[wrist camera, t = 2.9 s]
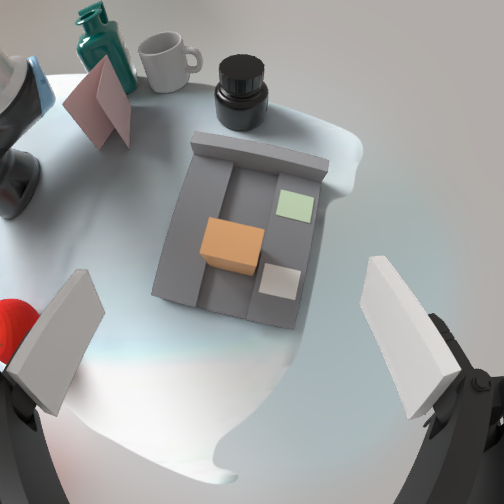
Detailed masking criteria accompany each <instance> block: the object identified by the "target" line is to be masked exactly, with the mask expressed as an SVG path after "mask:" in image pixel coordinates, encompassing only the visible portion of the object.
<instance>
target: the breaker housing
mask: <svg viewBox="0 0 504 504" xmlns="http://www.w3.org/2000/svg"><path fill="white" fill-rule="evenodd" d="M190 143H191V146H192V150H193V153H194V155H193V158H192V161H191V163H190V166H189V169H188V172H187V174H186V177H185V180H184V183H183V186H182V189H181V192H180V195H179V198H178V201H177V204H176V207H175V210H174V213H173V216H172V220H171V223H170V226H169V230H168V233H167V236H166V240H165V243H164V247H163V250H162V254H161V258H160V261H159V265H158V269H157V273H156V277H155V281H154V285H153V289H152V293H151V295H152V296H156V297H159V298H163V299H166V300H170V301H173V302H177V303H180V304H184V305H188V306H192V307H198V308H201V309H205V310H209V311H213V312H217V313H221V314H225V315H230V316H234V317H238V318H242V319H246V320H248V321H253V322H257V323H262V324H267V325H271V326H276V327H281V328H286V329H291V330H294V326H295V322H296V317H297V313H298V308H299V304H300V299H301V294H302V290H303V285H304V280H305V275H306V270H307V264H308V259H309V254H310V248H311V243H312V237H313V231H314V226H315V220H316V213H317V207H318V201H319V194H320V187H321V182H322V180H323V179H324V177H325V175H326V174H327V172H328V166H329V160H327V159H323V158H320V157H316V156H312V155H309V154H305V153H301V152H297V151H293V150H289V149H285V148H281V147H276V146H272V145H267V144H263V143H258V142H253V141H248V140H243V139H238V138H233V137H227V136H221V135H215V134H209V133H202V132H194V134H193V137H192V139H191V142H190ZM209 217H212V218H216V219H221V220H225V221H230V222H234V223H239V224H243V225H247V226H252V227H256V228H260V229H265V230H264V235H263V239H262V244H261V248H260V252H259V257H258V261H257V266H256V269H255V271H254V274H253V276H249V275H245V274H240V273H236V272H232V271H228V270H224V269H219V268H215V267H211V266H210V265H209V264H208V263H207V262H206V261H205V259H204V258H203V257H202V256H201V254H200V249H201V245H202V242H203V238H204V234H205V231H206V227H207V224H208V220H209Z"/></svg>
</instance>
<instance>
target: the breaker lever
mask: <svg viewBox="0 0 504 504" xmlns="http://www.w3.org/2000/svg"><path fill="white" fill-rule="evenodd" d="M264 230H265V229H260V228H256V227H252V226H247V225H243V224H239V223H234V222H230V221H225V220H221V219H216V218H212V217H209V220H208V224H207V227H206V231H205V234H204V238H203V242H202V245H201V249H200V254H201V256H202V257H203V258H204V259H205V261H206V262H207V263H208V264H209V265H210V266H211V267H215V268H219V269H224V270H228V271H232V272H236V273H240V274H245V275H249V276H253V274H254V271H255V269H256V266H257V261H258V257H259V252H260V248H261V244H262V239H263V235H264Z"/></svg>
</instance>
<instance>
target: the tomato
mask: <svg viewBox="0 0 504 504" xmlns="http://www.w3.org/2000/svg"><path fill="white" fill-rule="evenodd" d="M39 317H40V316H39V314H38V313H37V312H36V310H35V309H34V308H33V307H32V306H31V305H29V304H28V303H26V302H24V301H22V300H18V299H3V300H0V361H1V362H3V363H4V364H7V363H8V362H9V360H10V358H11V357H12V355H13V353H14V352H15V350H16V348H18V345H19V344H20V342H22V339H23V337H24V336H25V334H26V333H27V331H29V330H30V329H31V328H32V327H33V326H34V325H35V323H36V322H37V320H38V319H39Z"/></svg>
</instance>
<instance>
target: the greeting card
mask: <svg viewBox="0 0 504 504" xmlns="http://www.w3.org/2000/svg"><path fill="white" fill-rule="evenodd" d="M62 105H63V106H64V108H65V109H66V110H67V111H68V113H69V114H70V115H71V116H72V118H73V119H74V120H75V121H76V123H77V124H78V125H79V126H80V128H81V129H82V130H83V131H84V133H85V134H86V135H87V136H88V137H89V139H90V140H91V141H92V142H93V144H94V145H95V146H96V147H97V148H98V150H100V149H101V147H102V146H103V144H104V143H105V141H106V140H107V138H108V137H109V136H110V134H111V133H112V131H113V130H114V128H116V130H117V132H118V133H119V135H120V136H121V138H122V139H123V141H124V142H125V144H126V145H127V147H128V148H129V150H130V122H131V104H130V102H129V100H128V98H127V96H126V94H125V92H124V90H123V88H122V86H121V83H120V81H119V79H118V77H117V75H116V73H115V71H114V69H113V67H112V65H111V62H110V60H109V58H108V56H107V55H106V56H105V57H104V58H103V59H102V60H101V61H100V62H99V63H98V64H97V65H96V66H95V67H94V68H93V69H92V70H91V71H90V72H89V73H88V74H87V76H86V77H85V78H84V79H83V80H82V81H81V82H80V83H79V84H78V86H77V87H76V88H75V89H74V90H73V92H72V93H71V94H70V95H69V96H68V98H67V99H66V100H65V101H64V103H63V104H62Z"/></svg>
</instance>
